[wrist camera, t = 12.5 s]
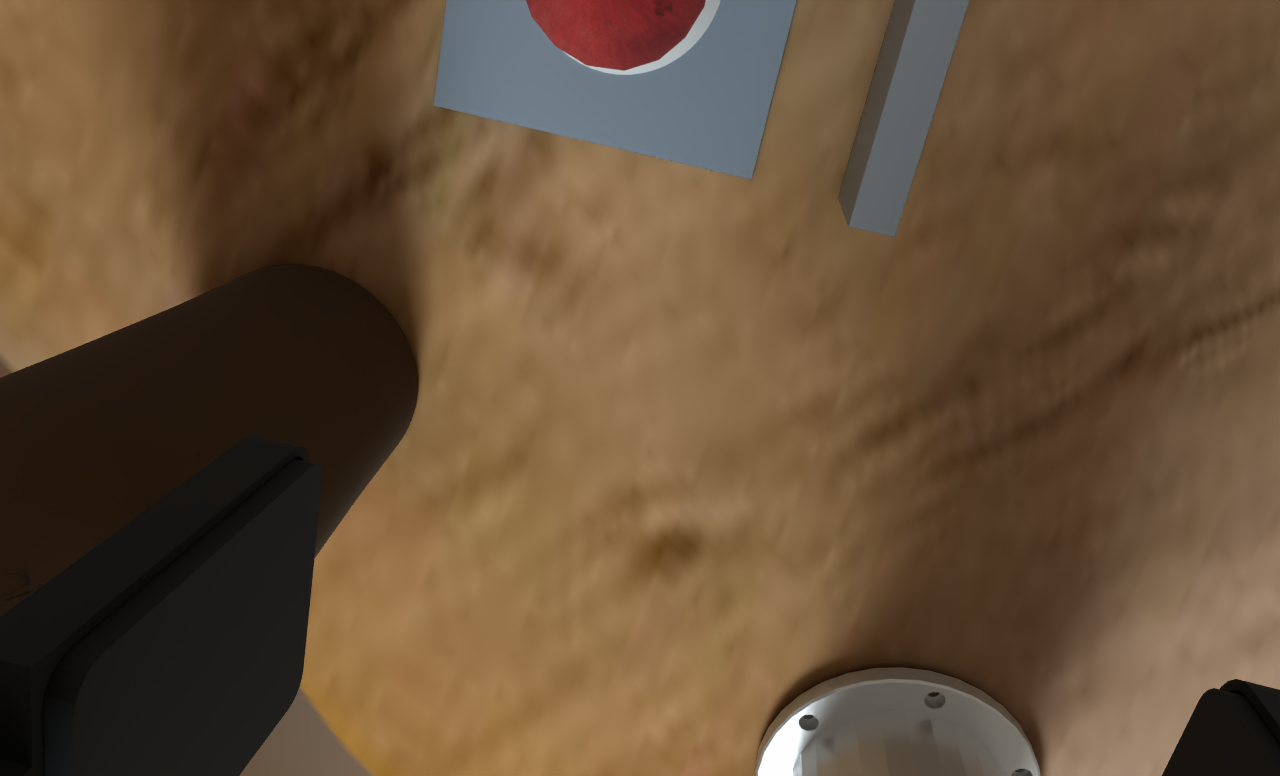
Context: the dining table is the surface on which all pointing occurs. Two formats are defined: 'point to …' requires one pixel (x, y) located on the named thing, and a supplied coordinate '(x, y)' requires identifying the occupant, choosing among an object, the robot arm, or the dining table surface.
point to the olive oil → (197, 411)
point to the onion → (616, 28)
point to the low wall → (899, 111)
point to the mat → (623, 82)
